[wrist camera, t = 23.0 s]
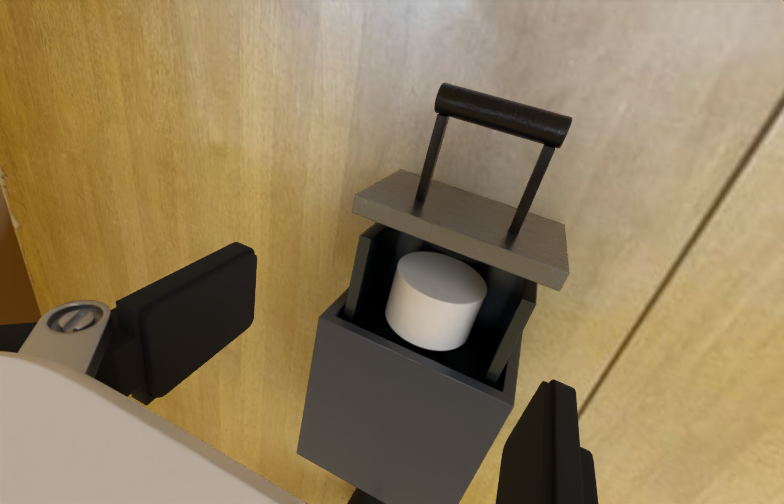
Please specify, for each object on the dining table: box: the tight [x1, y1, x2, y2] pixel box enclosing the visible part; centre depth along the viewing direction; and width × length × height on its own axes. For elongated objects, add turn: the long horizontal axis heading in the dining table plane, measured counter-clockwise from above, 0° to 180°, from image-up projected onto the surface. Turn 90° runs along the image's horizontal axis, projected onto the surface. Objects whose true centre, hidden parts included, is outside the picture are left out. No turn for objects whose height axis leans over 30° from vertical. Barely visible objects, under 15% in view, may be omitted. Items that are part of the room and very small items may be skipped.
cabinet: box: [297, 288, 523, 504], centre depth 32 cm, size 16×14×10 cm
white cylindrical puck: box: [385, 251, 487, 351], centre depth 27 cm, size 6×6×4 cm
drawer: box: [343, 83, 572, 388], centre depth 26 cm, size 21×12×8 cm, turn 166°
